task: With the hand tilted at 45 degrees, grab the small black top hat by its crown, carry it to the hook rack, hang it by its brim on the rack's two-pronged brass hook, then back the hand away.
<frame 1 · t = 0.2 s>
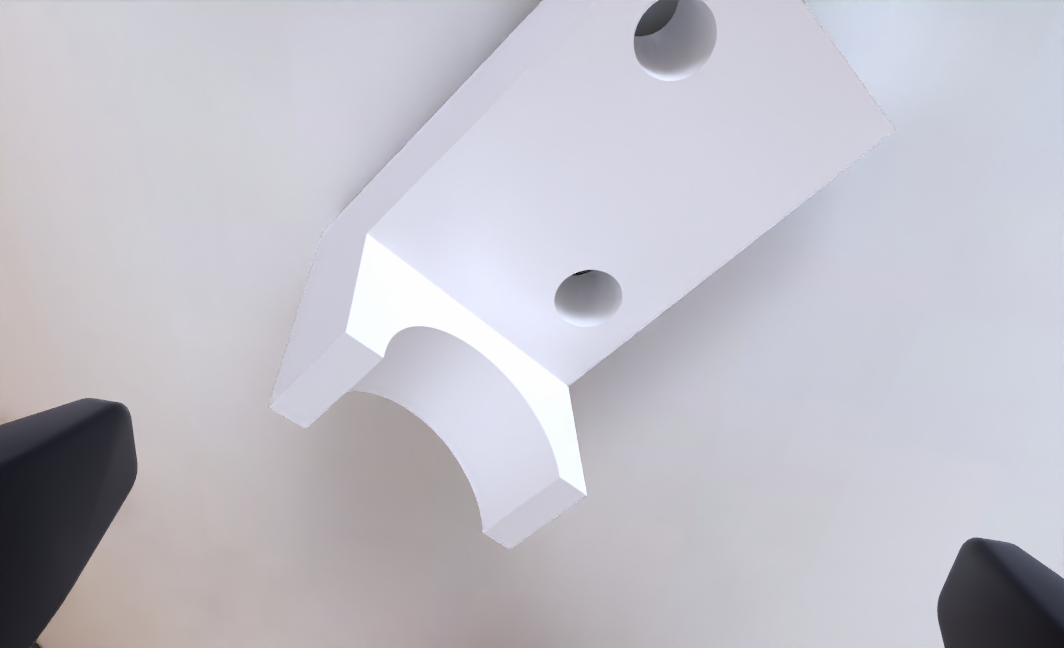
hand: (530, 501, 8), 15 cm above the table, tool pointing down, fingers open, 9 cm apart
bracket: (593, 182, 22), on the table
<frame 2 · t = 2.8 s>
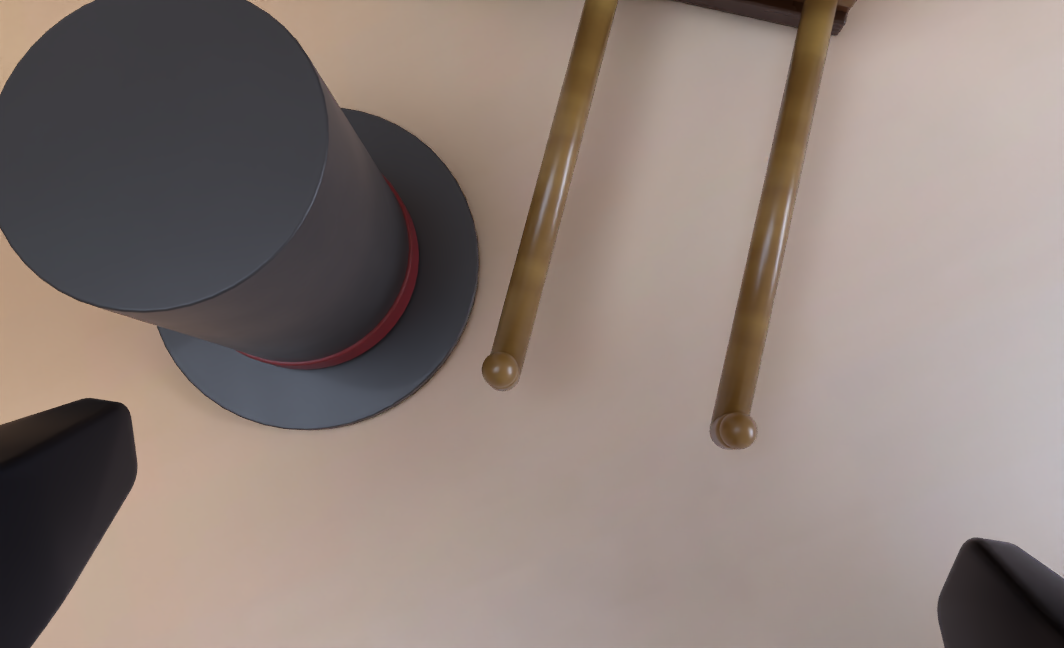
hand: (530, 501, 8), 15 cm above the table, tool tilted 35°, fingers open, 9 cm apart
hook rack: (663, 169, 25), on the table
top hat: (316, 265, 24), on the table
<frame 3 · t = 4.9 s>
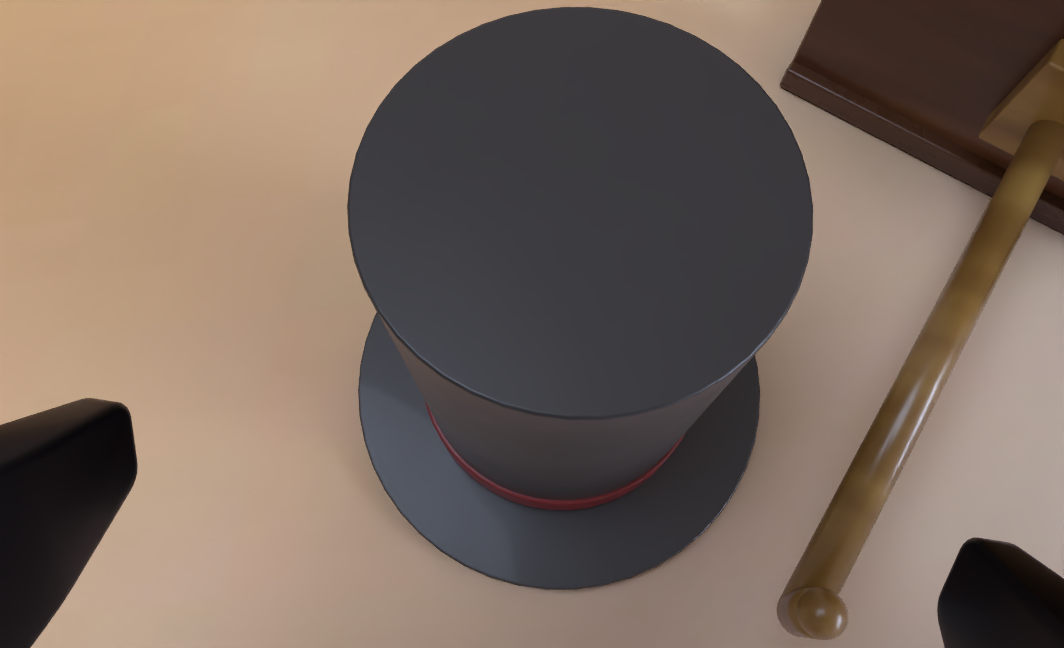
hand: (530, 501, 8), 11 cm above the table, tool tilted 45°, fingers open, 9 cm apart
hook rack: (999, 410, 20), on the table
top hat: (558, 381, 20), on the table
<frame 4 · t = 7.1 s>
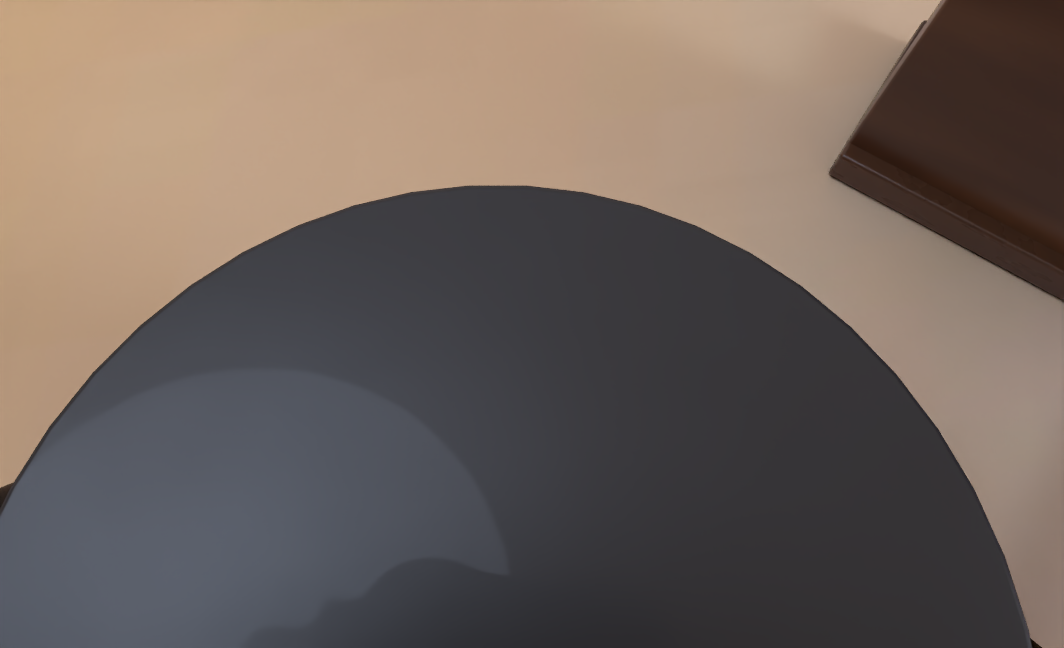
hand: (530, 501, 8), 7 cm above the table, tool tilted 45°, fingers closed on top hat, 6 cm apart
top hat: (518, 622, 14), on the table, touching gripper
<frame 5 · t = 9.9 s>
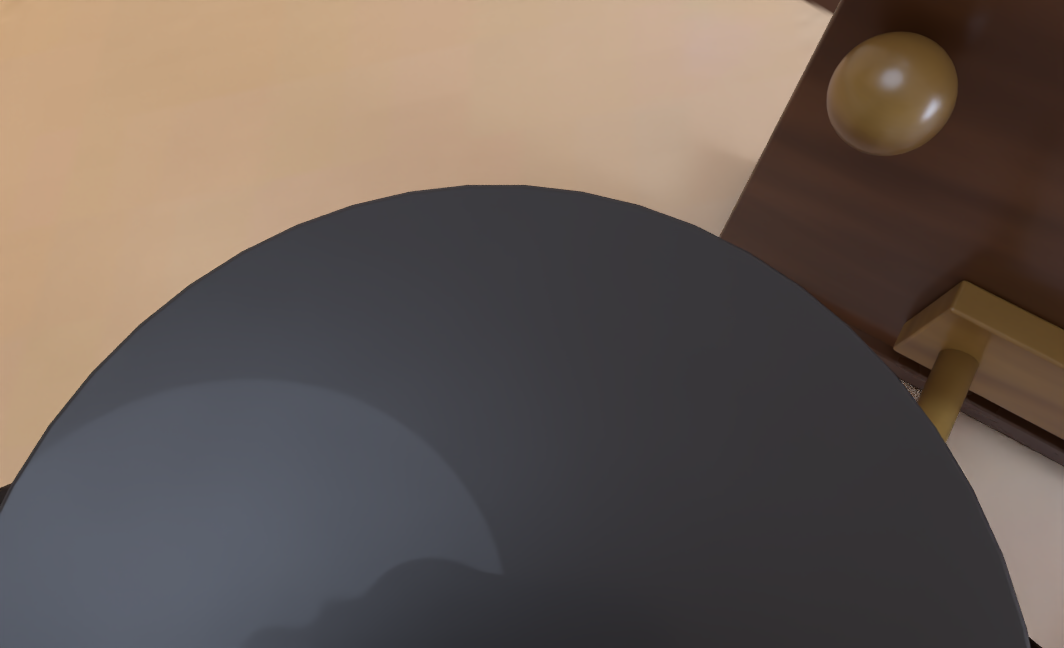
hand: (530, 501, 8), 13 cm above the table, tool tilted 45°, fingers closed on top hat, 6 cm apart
hook rack: (924, 623, 20), on the table
top hat: (518, 622, 14), point 6 cm above the table, touching gripper
when the fingers open (11 cm above the table, at t = 13.2 s): top hat stays where it is, resting on hook rack.
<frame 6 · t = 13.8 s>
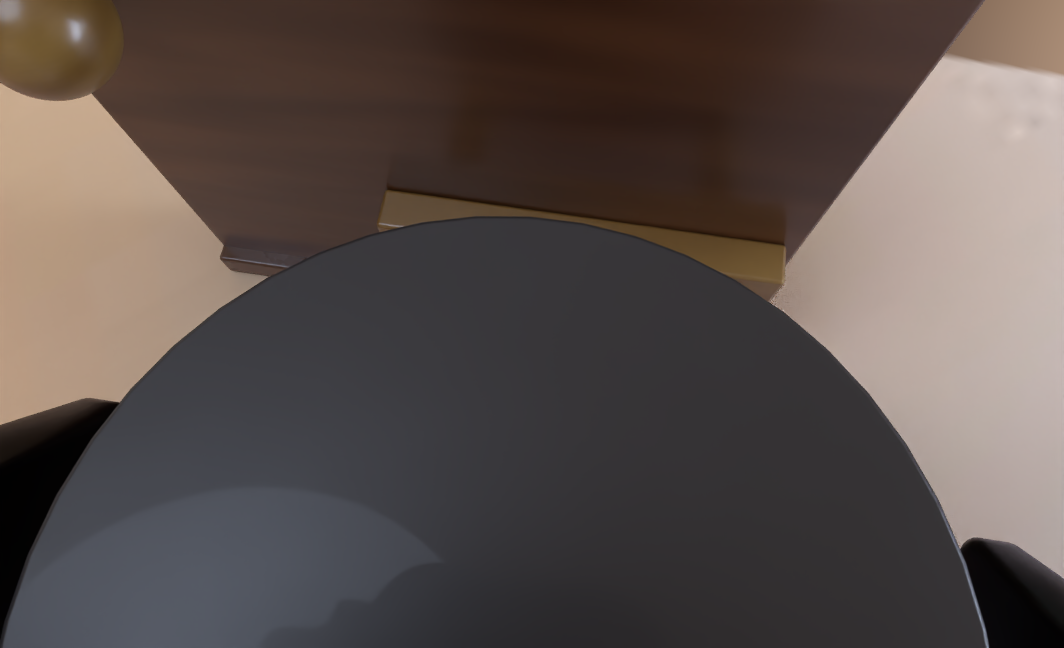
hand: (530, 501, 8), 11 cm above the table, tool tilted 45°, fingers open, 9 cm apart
hook rack: (535, 541, 19), on the table
top hat: (519, 622, 14), point 4 cm above the table, touching hook rack
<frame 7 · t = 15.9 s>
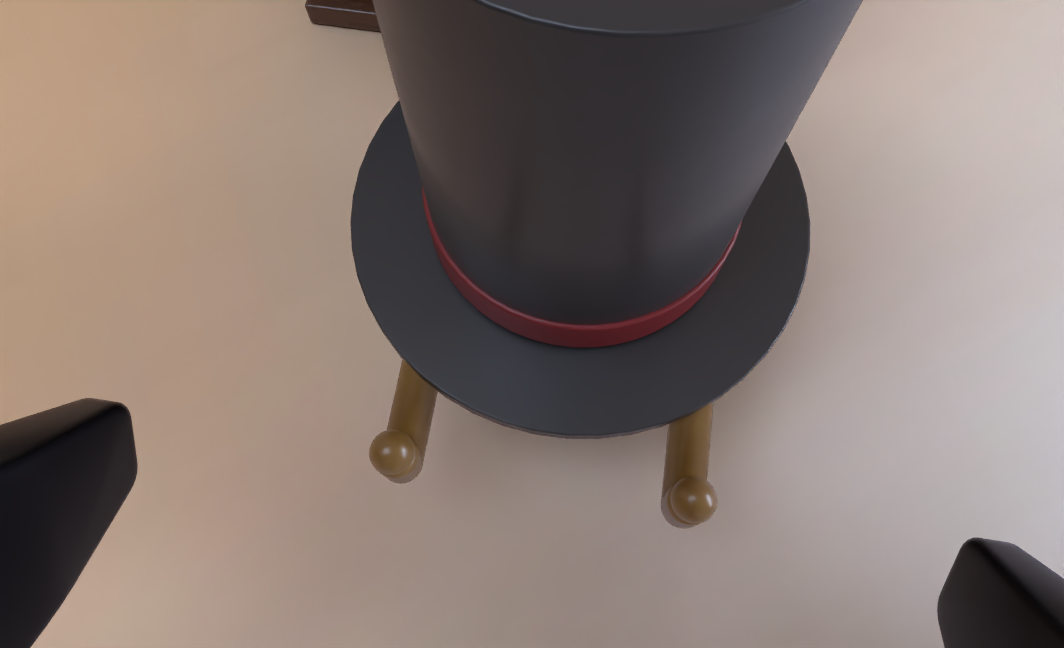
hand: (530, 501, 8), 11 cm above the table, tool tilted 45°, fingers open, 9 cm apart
hook rack: (581, 226, 22), on the table
top hat: (578, 216, 18), point 4 cm above the table, touching hook rack
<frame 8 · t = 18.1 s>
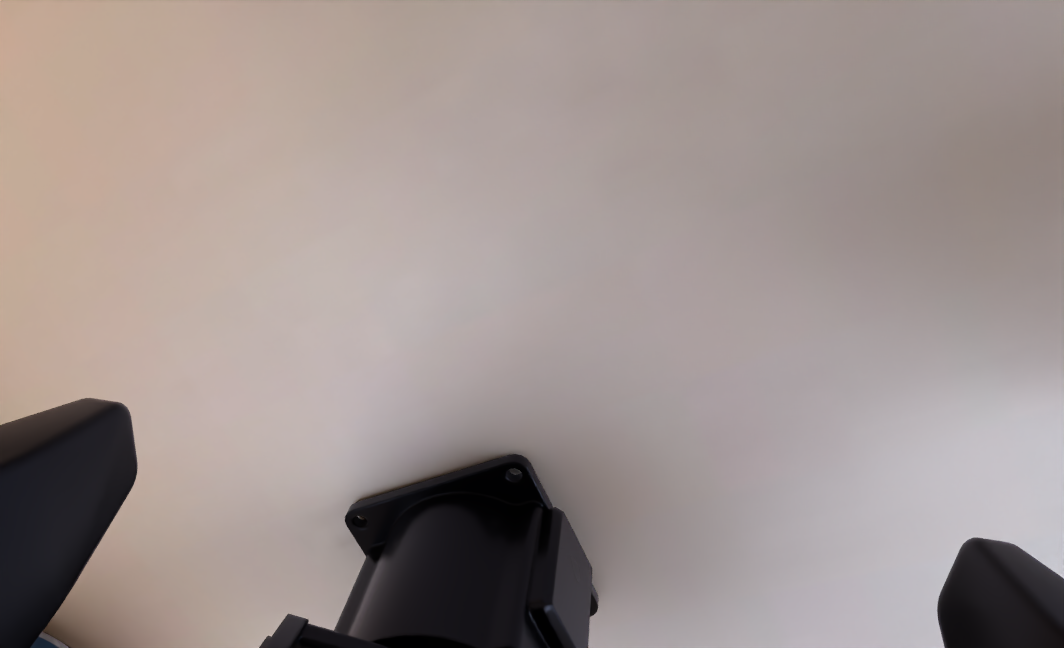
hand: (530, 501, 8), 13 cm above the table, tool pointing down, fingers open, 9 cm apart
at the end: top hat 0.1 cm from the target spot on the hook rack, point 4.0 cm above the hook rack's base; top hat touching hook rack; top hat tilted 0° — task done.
